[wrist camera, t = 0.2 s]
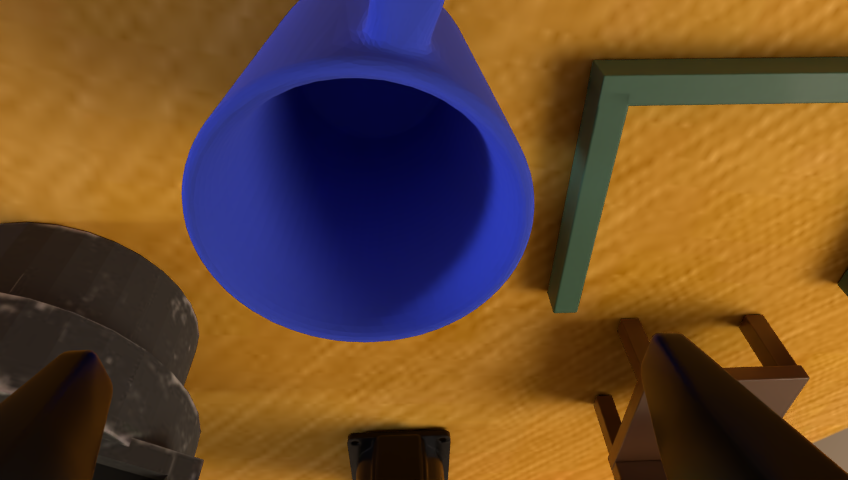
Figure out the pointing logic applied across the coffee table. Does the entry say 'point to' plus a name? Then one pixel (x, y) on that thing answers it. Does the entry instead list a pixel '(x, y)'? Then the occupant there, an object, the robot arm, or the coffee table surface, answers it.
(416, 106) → the mug
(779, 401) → the chair
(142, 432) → the lantern
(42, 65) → the coffee table surface
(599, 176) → the bay
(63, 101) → the coffee table surface
